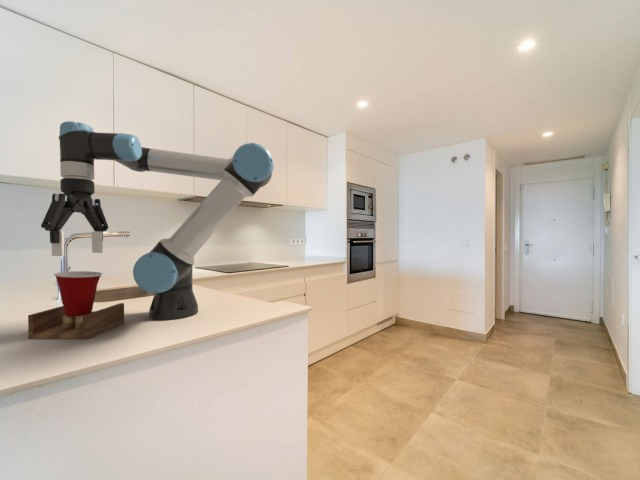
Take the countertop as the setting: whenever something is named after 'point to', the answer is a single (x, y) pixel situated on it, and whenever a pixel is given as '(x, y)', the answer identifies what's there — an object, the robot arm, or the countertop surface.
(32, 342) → the countertop surface
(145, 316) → the countertop surface
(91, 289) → the plastic cup
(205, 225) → the robot arm
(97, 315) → the peg board
